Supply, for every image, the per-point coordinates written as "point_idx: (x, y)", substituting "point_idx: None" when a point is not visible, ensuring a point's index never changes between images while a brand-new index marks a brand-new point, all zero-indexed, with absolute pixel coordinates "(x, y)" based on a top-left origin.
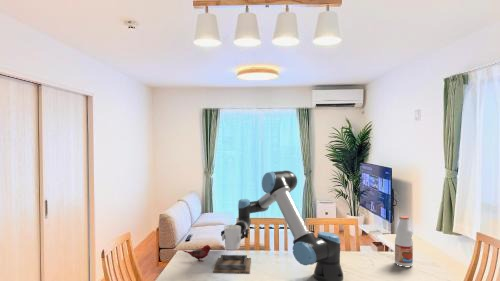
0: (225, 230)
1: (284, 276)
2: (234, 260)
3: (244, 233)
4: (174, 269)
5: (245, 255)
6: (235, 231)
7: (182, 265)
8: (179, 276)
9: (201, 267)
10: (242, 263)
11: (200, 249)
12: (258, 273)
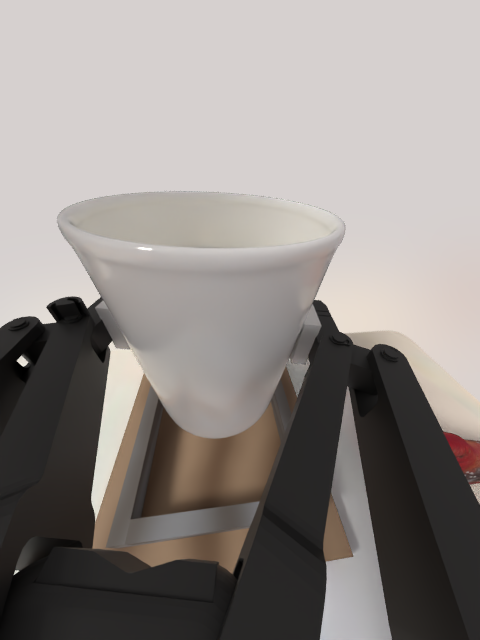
0: (281, 224)
1: (22, 356)
2: (216, 497)
3: (59, 315)
4: (423, 370)
5: (121, 534)
6: (180, 217)
7: (439, 407)
8: (360, 332)
9: (349, 397)
10: (166, 446)
11: (465, 440)
12: (113, 369)
